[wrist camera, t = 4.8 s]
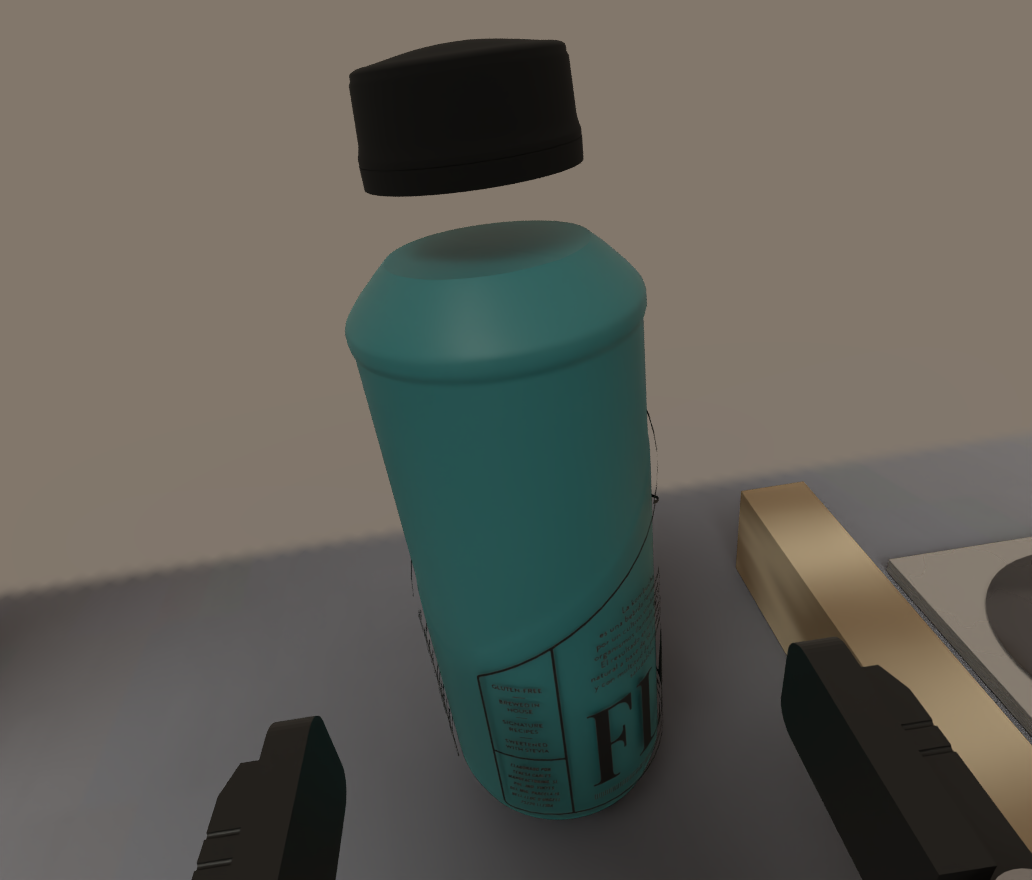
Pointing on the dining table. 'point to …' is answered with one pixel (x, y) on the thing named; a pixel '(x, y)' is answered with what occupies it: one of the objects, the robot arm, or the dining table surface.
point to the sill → (874, 632)
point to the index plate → (981, 611)
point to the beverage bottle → (513, 429)
